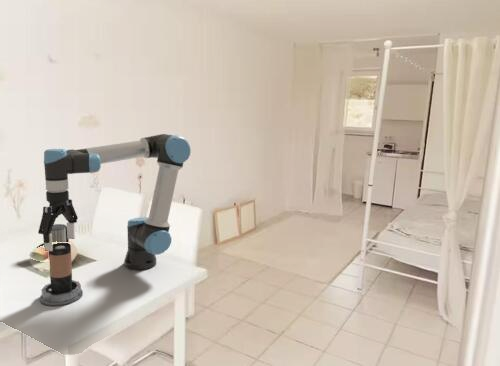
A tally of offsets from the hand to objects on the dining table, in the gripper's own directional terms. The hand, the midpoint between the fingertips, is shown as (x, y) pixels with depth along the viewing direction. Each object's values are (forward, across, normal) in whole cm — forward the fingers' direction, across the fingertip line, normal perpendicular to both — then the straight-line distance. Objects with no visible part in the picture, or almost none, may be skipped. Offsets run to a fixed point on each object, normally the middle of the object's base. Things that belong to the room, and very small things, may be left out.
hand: (60, 244), depth 145 cm
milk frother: (+22, -40, -34) cm, 57 cm away
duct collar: (+22, 0, 0) cm, 22 cm away
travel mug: (+21, 0, 0) cm, 21 cm away
